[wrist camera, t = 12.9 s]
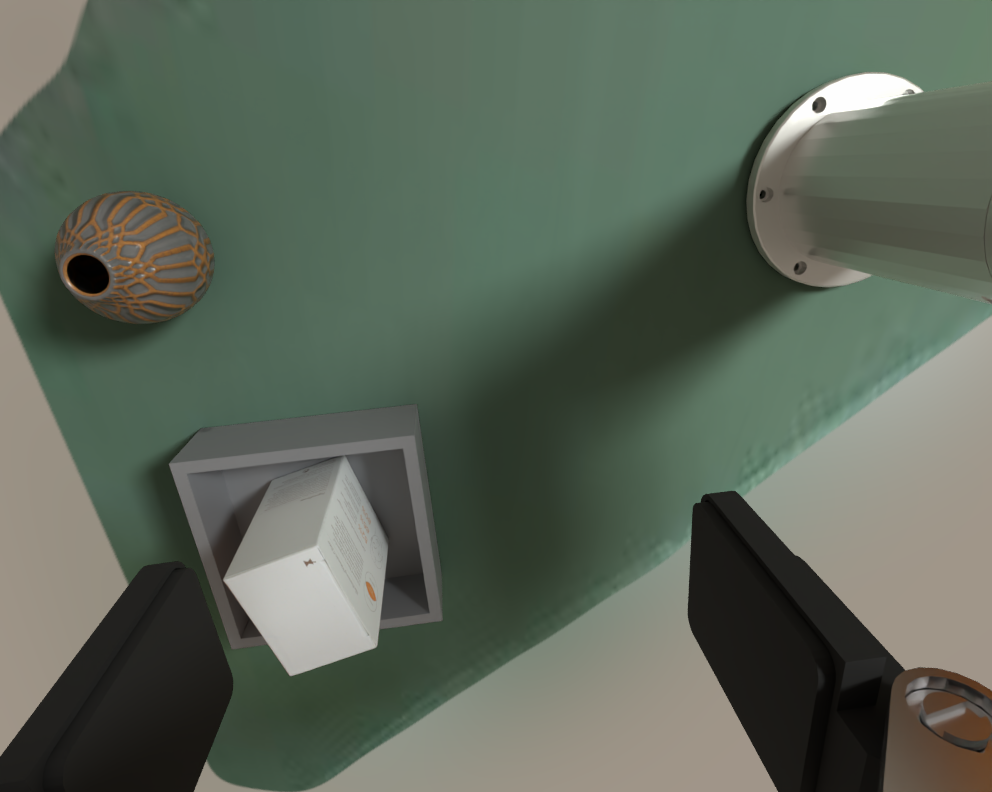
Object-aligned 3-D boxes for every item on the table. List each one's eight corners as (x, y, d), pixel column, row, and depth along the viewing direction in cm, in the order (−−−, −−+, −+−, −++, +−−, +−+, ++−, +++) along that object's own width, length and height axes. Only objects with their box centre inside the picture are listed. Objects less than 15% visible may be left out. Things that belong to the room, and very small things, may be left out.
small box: (271, 477, 40) (217, 577, 30) (346, 450, 40) (316, 543, 30) (321, 564, 43) (287, 681, 33) (391, 540, 43) (378, 650, 33)
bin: (416, 403, 39) (414, 435, 35) (442, 574, 45) (442, 620, 40) (200, 428, 39) (168, 463, 34) (253, 598, 44) (231, 649, 39)
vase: (206, 325, 36) (140, 371, 28) (92, 273, 34) (-15, 305, 26) (246, 226, 34) (188, 244, 26) (127, 165, 32) (25, 164, 24)
